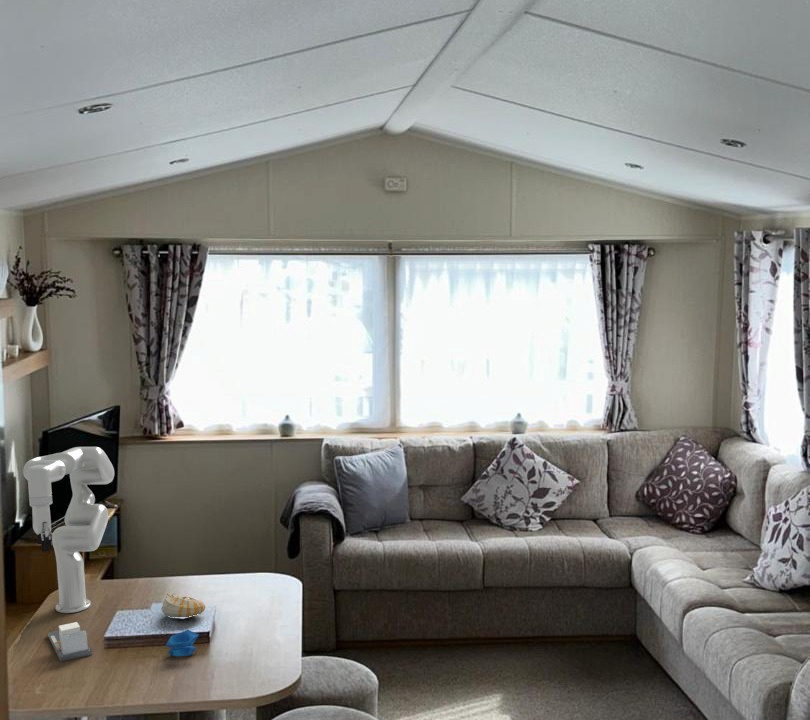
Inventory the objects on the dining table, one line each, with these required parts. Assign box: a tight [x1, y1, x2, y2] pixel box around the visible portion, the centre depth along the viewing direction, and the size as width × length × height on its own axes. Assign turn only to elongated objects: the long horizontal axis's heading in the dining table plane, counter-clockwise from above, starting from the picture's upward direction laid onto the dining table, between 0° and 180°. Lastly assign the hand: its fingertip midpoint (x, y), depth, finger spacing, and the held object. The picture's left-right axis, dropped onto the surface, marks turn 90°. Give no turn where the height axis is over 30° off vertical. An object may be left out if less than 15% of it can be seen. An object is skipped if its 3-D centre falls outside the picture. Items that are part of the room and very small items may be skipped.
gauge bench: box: [47, 629, 93, 663], centre depth 326 cm, size 24×10×8 cm, turn 30°
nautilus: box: [160, 594, 206, 617], centre depth 350 cm, size 8×22×15 cm
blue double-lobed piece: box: [165, 629, 200, 657], centre depth 316 cm, size 7×9×12 cm
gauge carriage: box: [55, 621, 81, 644], centre depth 323 cm, size 5×8×5 cm, turn 120°
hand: (44, 547), depth 337 cm, fingers open, 9 cm apart
